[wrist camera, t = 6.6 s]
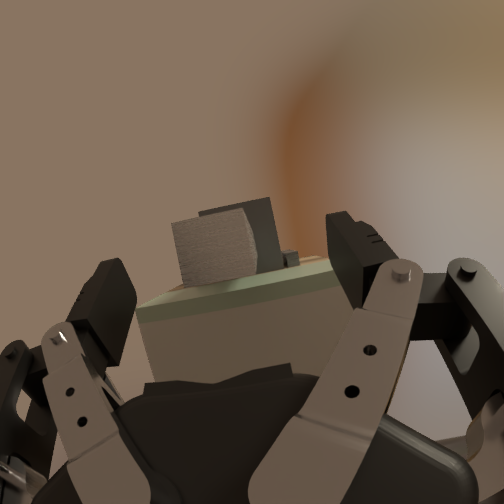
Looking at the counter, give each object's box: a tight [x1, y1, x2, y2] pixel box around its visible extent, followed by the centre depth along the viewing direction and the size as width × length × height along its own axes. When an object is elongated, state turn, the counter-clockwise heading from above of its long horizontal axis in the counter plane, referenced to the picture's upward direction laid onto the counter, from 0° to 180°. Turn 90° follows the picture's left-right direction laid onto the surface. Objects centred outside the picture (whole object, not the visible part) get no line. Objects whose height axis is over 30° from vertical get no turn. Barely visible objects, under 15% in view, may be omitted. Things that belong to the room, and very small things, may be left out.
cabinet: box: [135, 250, 354, 384], centre depth 27 cm, size 16×14×33 cm
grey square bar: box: [171, 197, 284, 288], centre depth 22 cm, size 24×6×6 cm, turn 179°
